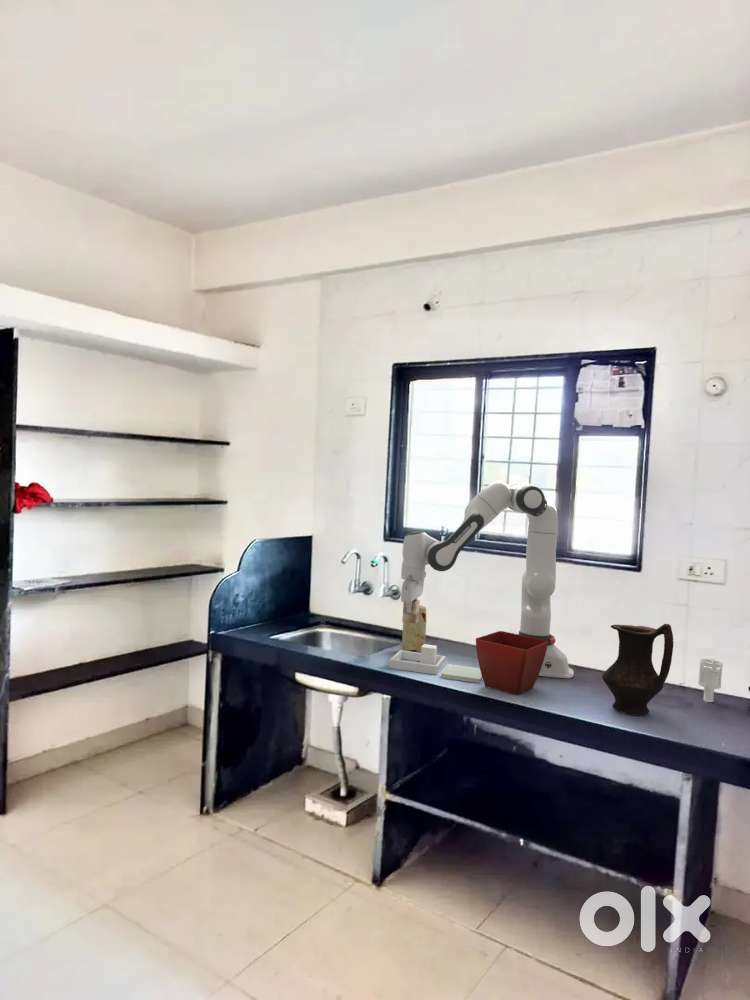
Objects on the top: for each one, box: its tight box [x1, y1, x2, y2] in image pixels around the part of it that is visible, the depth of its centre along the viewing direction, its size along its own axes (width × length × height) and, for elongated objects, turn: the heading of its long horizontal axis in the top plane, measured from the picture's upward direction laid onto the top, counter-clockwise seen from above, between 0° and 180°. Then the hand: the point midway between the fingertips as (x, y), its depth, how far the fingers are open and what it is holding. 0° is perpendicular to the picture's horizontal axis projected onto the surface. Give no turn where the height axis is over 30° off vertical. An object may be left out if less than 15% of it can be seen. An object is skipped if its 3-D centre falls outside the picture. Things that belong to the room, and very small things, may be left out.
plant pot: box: [475, 630, 548, 696], centre depth 237 cm, size 19×19×17 cm
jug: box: [601, 623, 674, 716], centre depth 219 cm, size 21×18×30 cm
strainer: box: [697, 658, 724, 703], centre depth 236 cm, size 7×7×15 cm
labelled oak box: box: [401, 599, 420, 624], centre depth 259 cm, size 5×5×8 cm
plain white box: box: [419, 643, 438, 665], centre depth 257 cm, size 5×5×8 cm
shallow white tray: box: [388, 649, 447, 676], centre depth 258 cm, size 18×16×3 cm
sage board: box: [440, 663, 483, 684], centre depth 249 cm, size 14×14×2 cm
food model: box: [401, 604, 427, 653], centre depth 277 cm, size 10×7×20 cm
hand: (411, 610), depth 259 cm, fingers closed on labelled oak box, 5 cm apart
